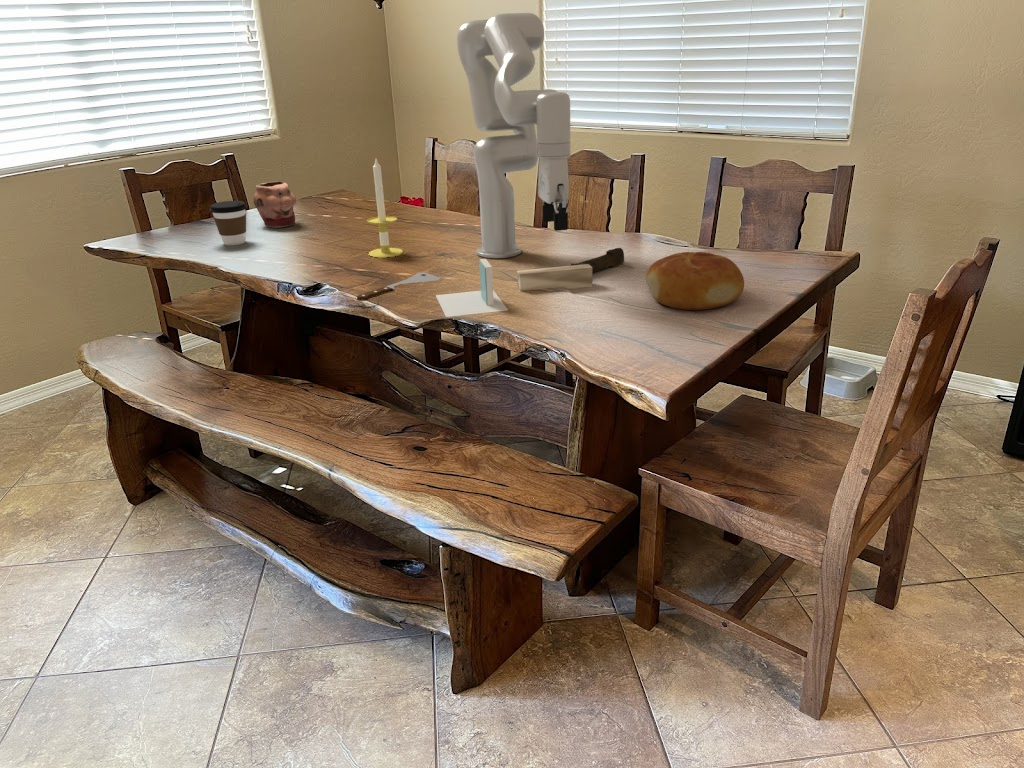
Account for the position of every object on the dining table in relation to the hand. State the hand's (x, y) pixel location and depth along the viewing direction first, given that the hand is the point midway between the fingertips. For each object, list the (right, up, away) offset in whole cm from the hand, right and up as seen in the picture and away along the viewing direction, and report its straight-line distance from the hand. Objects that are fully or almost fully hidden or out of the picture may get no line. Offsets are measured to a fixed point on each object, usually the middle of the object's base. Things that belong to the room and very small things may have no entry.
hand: (554, 225), depth 184 cm
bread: (+32, -17, -3) cm, 36 cm away
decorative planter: (-89, +16, +79) cm, 120 cm away
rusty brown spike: (+12, -8, +20) cm, 24 cm away
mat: (-20, -19, -3) cm, 27 cm away
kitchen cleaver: (-37, -14, +11) cm, 41 cm away
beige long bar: (0, -14, +7) cm, 16 cm away
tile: (-16, -18, -2) cm, 24 cm away
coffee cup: (-96, +6, +58) cm, 112 cm away
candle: (-46, 0, +41) cm, 62 cm away
